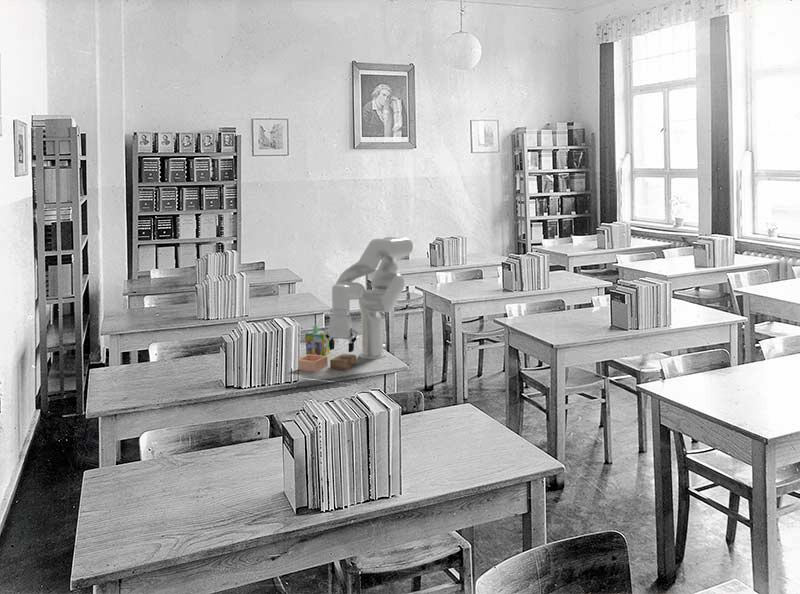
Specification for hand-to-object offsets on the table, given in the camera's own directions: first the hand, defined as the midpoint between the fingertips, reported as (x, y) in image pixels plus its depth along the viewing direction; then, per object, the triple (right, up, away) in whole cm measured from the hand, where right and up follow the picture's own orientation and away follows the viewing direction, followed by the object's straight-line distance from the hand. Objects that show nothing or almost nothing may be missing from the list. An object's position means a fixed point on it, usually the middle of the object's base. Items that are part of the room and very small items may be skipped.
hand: (341, 350), depth 325 cm
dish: (-13, -8, +1) cm, 16 cm away
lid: (+1, -7, +2) cm, 8 cm away
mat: (+1, -8, +2) cm, 8 cm away
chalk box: (-13, -4, +23) cm, 26 cm away
